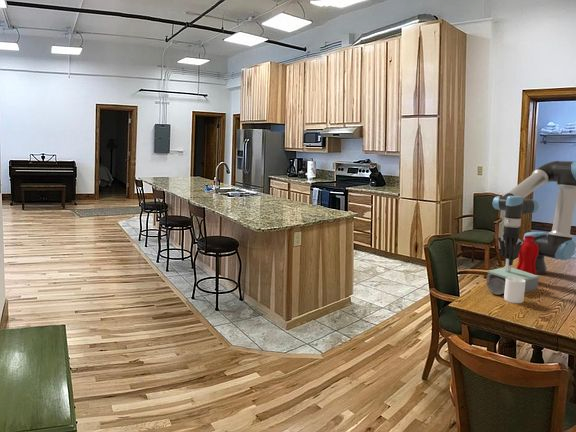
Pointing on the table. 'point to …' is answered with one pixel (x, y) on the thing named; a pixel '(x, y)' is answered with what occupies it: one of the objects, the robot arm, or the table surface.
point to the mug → (496, 286)
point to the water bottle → (528, 255)
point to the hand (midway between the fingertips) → (507, 270)
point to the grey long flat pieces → (529, 285)
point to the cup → (514, 290)
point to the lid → (513, 273)
